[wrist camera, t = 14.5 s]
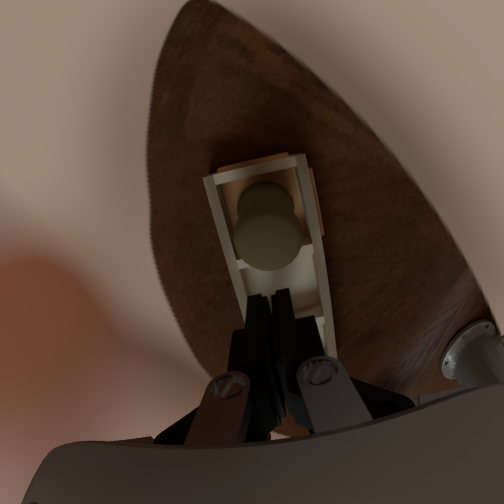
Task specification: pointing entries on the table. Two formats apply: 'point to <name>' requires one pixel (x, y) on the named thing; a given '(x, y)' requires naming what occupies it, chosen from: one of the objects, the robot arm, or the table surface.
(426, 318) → the table surface
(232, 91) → the table surface
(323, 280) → the spice rack
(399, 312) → the table surface
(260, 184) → the cork
